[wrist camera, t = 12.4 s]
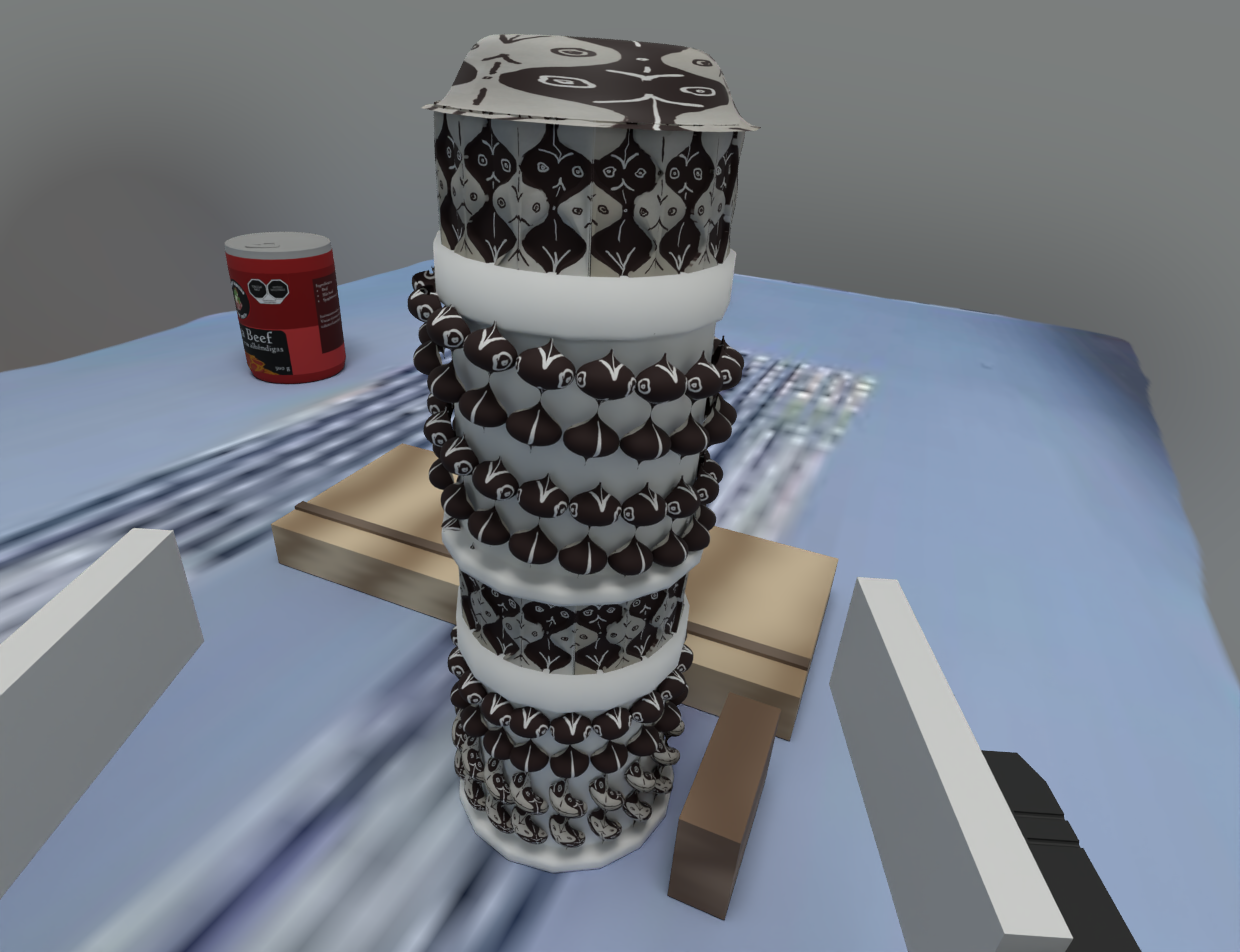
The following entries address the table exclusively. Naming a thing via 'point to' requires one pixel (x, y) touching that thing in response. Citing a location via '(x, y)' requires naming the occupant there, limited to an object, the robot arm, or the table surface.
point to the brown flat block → (723, 805)
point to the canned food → (287, 305)
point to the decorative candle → (576, 421)
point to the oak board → (716, 589)
